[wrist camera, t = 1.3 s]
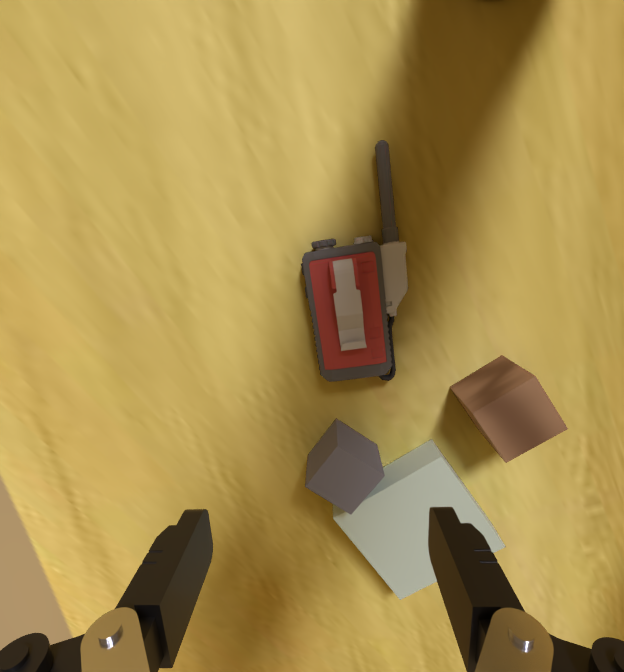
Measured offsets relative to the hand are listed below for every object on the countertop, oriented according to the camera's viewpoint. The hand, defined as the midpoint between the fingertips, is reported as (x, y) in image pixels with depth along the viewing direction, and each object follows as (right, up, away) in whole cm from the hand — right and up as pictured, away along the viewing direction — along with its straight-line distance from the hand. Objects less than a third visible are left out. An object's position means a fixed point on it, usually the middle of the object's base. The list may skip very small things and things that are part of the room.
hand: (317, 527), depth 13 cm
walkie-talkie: (+4, +13, +19) cm, 23 cm away
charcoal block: (+3, -5, +23) cm, 24 cm away
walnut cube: (+17, +1, +21) cm, 27 cm away
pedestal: (+10, -11, +24) cm, 29 cm away
